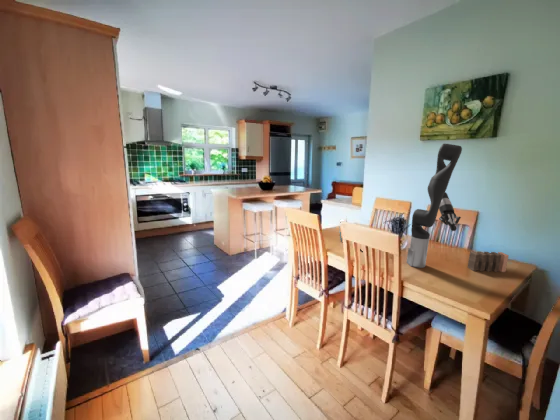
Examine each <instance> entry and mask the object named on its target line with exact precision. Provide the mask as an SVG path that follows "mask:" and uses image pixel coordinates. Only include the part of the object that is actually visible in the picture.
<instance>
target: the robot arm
mask: <svg viewBox="0 0 560 420" xmlns="http://www.w3.org/2000/svg"><path fill="white" fill-rule="evenodd" d="M462 151H463V147H462V146H461V145H457V144H452V143H451V144H450V143H442V144H441V146H440V147H439V149H438V153H437V159H436V171H435V174H434V175H433V176H432V177H431V179H430V180H429V183H428V185H427V193H428V197H429V199H430V207H429V209H428V210H426V209H421V208H417V209H415V210H414V212H413V214H412V218H411V229H410V231H411V236H410V237H411V238H410V243H409V247H408V249H407V250H408V251H407V256H406V257H407V258H406V264H408V265H409V266H410V267H414V268H421V269H422V268H425V267H426V264H427V256H428V248H429V243H430V236H431V235H430V233H429V232H428V231H427V230H425V228H431V227H433V226H434V225H435V222H436V219H437V217H438V214H439V212H440V217H438V220H439V221H440V222H442V223H443V224H445V225H446V226H449V228H450V230H451V231H452V232H456V231H457V224H458V223H459V221H460V219H461V218H462V217H461V216H457V214H456V213H455V209H454V206H453V204H452V201H451V200H450V197H449V194H448V193H447V192H446V190H447V189H448V185H449V183H450V180H451V177H452V174H453V173H454V171H455V170H454V169H455V167H456V165H457V163H458V161H459V159H460V157H461V154H462ZM445 161H449V163H448V164H447V165H446V163H445ZM423 227H425V228H423Z"/></svg>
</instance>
